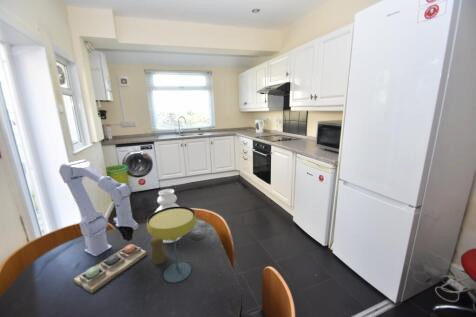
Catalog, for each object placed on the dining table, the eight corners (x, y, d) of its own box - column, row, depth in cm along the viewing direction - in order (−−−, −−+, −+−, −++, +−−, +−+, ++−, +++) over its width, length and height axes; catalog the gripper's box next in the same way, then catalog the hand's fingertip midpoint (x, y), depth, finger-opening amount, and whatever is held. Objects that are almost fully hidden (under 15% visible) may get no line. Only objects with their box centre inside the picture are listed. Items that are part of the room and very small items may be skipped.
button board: (74, 281, 82) (73, 275, 82) (130, 247, 103) (129, 241, 102) (91, 293, 77) (90, 286, 76) (146, 254, 97) (146, 248, 97)
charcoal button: (104, 263, 89) (103, 259, 88) (114, 257, 92) (114, 253, 92) (110, 267, 87) (110, 262, 86) (121, 260, 90) (120, 256, 90)
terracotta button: (122, 252, 95) (121, 248, 95) (131, 247, 99) (130, 243, 99) (128, 255, 93) (128, 251, 93) (137, 249, 97) (136, 245, 97)
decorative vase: (183, 246, 103) (178, 198, 97) (147, 246, 103) (140, 199, 98) (191, 226, 120) (188, 185, 115) (160, 227, 120) (155, 185, 115)
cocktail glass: (207, 261, 92) (203, 208, 86) (185, 295, 75) (178, 232, 69) (171, 254, 97) (166, 204, 92) (143, 284, 80) (134, 225, 75)
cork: (161, 265, 90) (158, 242, 88) (148, 263, 91) (145, 241, 89) (168, 255, 96) (166, 234, 94) (156, 254, 97) (154, 233, 95)
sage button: (83, 276, 82) (82, 272, 81) (95, 269, 85) (94, 265, 85) (90, 280, 80) (89, 276, 79) (101, 272, 83) (101, 268, 83)
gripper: (104, 212, 92) (109, 239, 95) (125, 219, 85) (130, 249, 88) (120, 205, 98) (124, 232, 101) (140, 212, 91) (144, 239, 94)
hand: (128, 239), depth 95 cm, fingers closed
